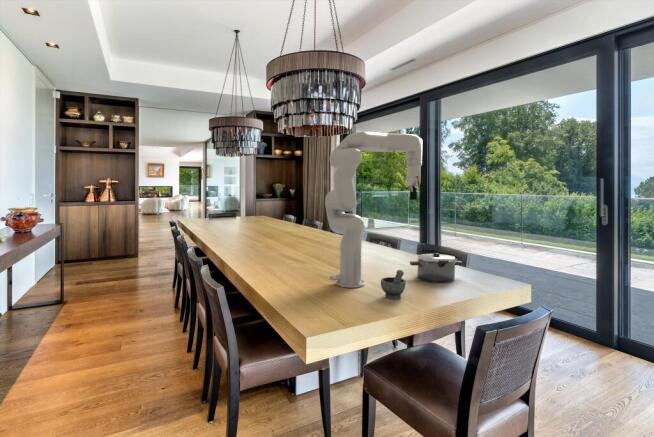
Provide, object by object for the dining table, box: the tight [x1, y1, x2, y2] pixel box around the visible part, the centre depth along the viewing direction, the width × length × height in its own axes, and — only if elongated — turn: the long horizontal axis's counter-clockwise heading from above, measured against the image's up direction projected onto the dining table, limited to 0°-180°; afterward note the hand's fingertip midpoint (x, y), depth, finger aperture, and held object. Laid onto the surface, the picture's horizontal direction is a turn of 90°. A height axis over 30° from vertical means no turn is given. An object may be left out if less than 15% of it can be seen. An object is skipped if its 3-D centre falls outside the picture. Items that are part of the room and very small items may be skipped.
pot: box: [409, 258, 464, 284], centre depth 171 cm, size 25×18×9 cm
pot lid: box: [417, 252, 456, 263], centre depth 169 cm, size 17×19×3 cm
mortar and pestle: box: [380, 269, 407, 301], centre depth 140 cm, size 11×9×12 cm
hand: (413, 199), depth 180 cm, fingers closed
